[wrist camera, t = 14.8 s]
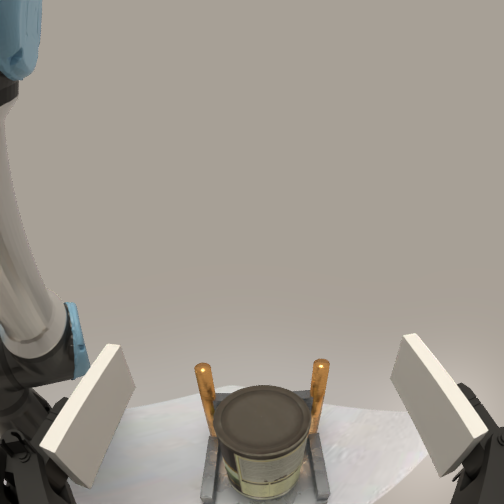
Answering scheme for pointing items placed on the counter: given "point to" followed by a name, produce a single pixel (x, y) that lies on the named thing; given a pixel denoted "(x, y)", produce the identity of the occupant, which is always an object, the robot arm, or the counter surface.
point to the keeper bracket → (313, 467)
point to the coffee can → (262, 439)
